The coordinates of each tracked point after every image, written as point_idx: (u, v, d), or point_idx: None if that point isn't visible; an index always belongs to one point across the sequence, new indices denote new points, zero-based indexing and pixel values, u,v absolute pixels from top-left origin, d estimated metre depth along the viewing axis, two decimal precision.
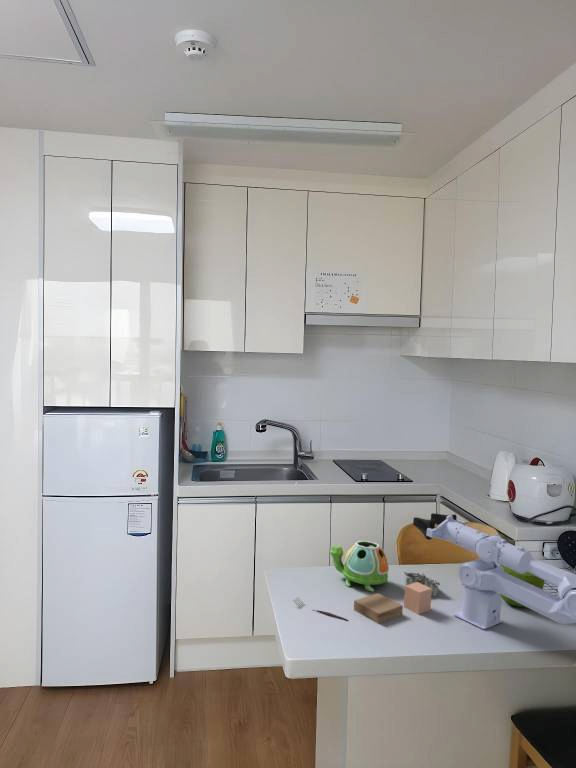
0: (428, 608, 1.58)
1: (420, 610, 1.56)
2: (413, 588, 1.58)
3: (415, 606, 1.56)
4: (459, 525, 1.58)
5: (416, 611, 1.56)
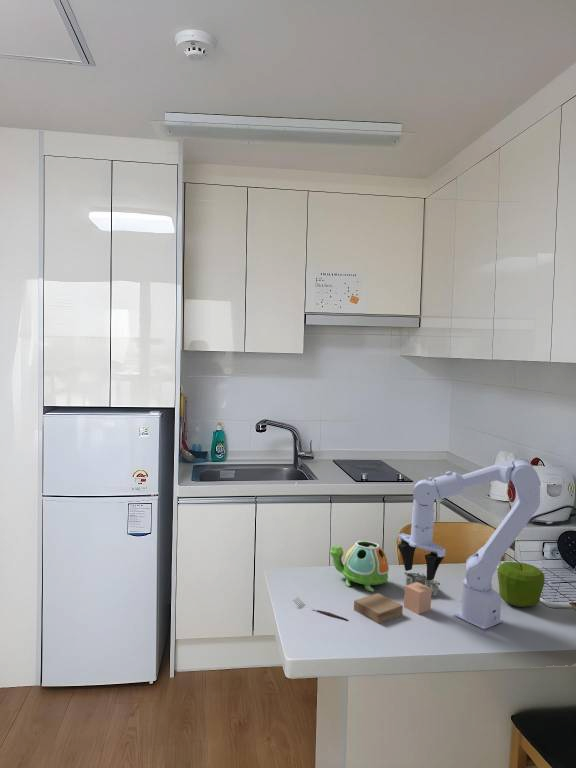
0: (428, 608, 1.58)
1: (420, 610, 1.56)
2: (413, 588, 1.58)
3: (415, 606, 1.56)
4: (417, 530, 1.55)
5: (416, 611, 1.56)
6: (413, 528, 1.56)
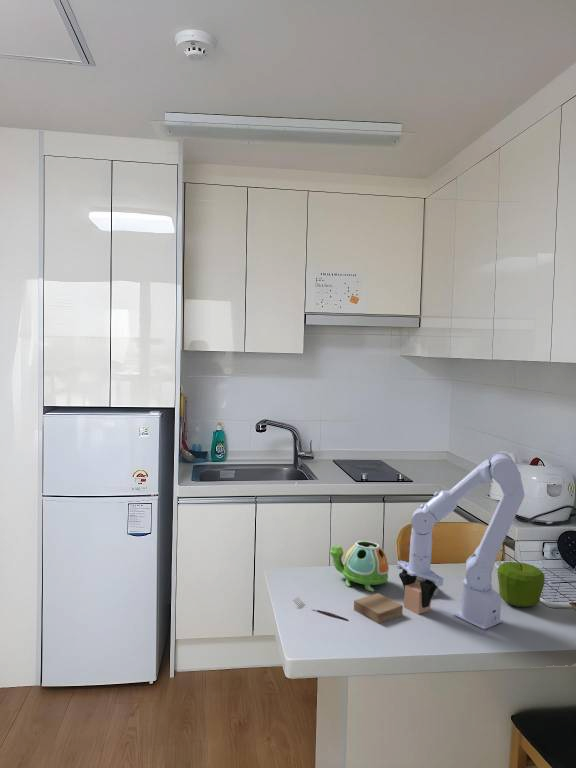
0: (428, 608, 1.58)
1: (420, 610, 1.56)
2: (413, 588, 1.58)
3: (415, 605, 1.56)
4: (415, 559, 1.56)
5: (416, 611, 1.56)
6: (411, 557, 1.57)
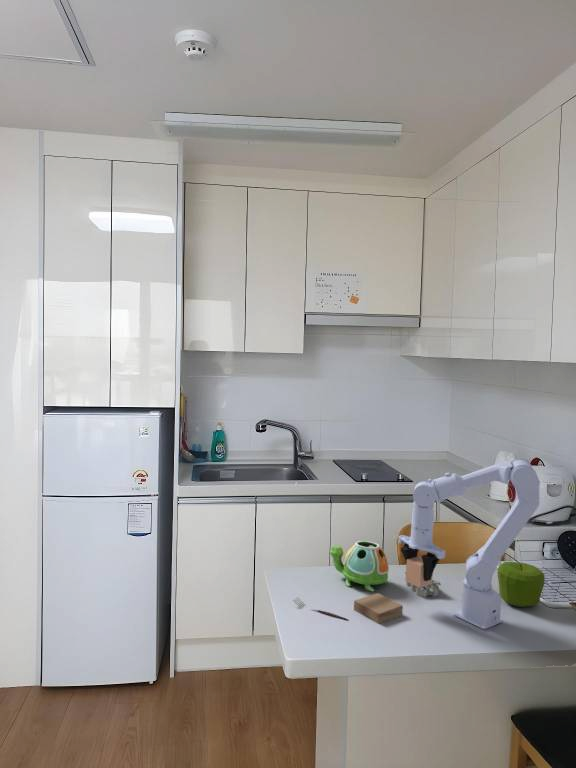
0: (430, 582, 1.57)
1: (422, 583, 1.55)
2: (415, 561, 1.57)
3: (416, 579, 1.56)
4: (417, 532, 1.55)
5: (418, 584, 1.55)
6: (413, 530, 1.56)
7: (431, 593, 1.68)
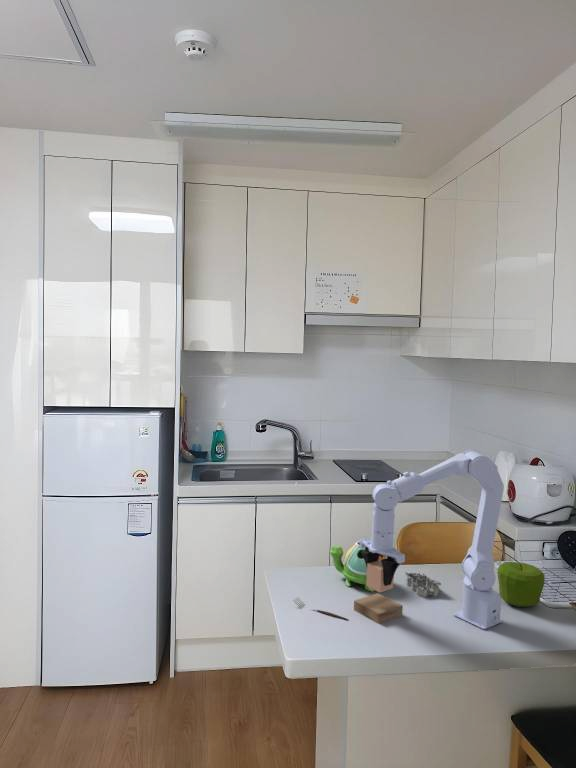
0: (391, 586, 1.54)
1: (382, 588, 1.52)
2: (375, 565, 1.54)
3: (376, 583, 1.52)
4: (377, 535, 1.52)
5: (378, 589, 1.52)
6: (373, 533, 1.53)
7: (431, 593, 1.68)
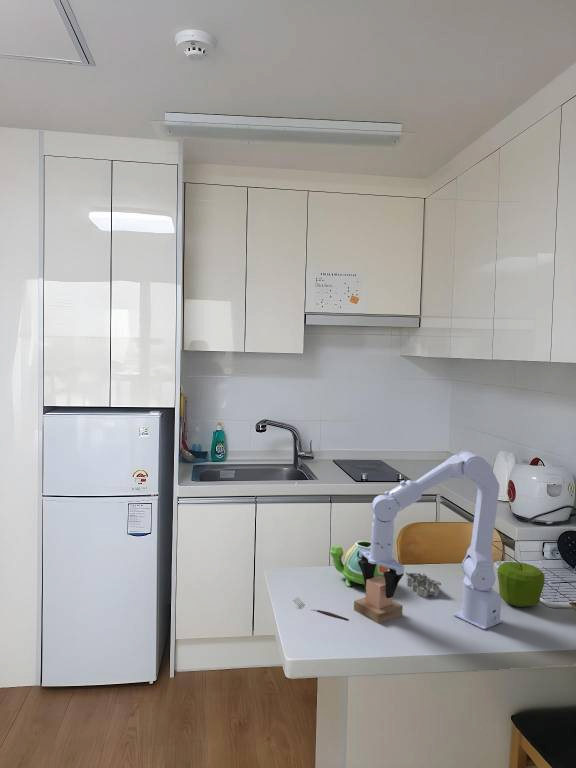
0: (390, 603, 1.54)
1: (381, 604, 1.52)
2: (374, 582, 1.54)
3: (375, 600, 1.53)
4: (376, 547, 1.52)
5: (377, 605, 1.52)
6: (372, 544, 1.53)
7: (432, 593, 1.68)
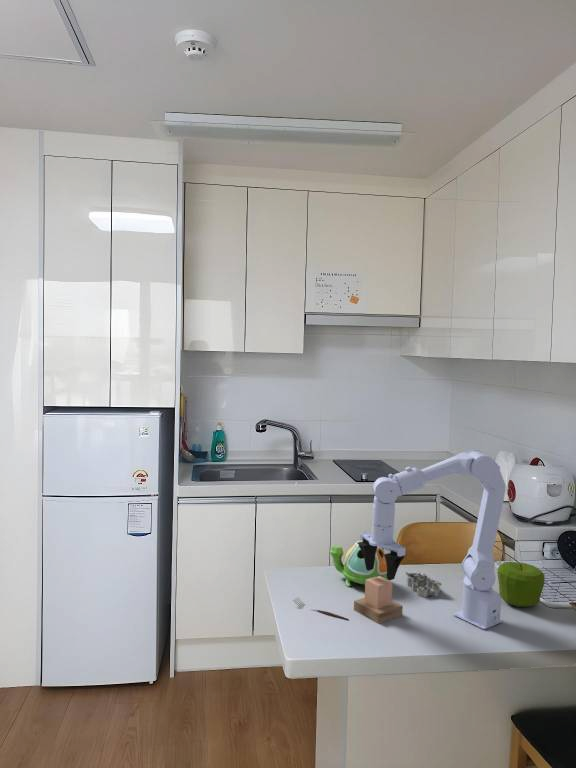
0: (389, 603, 1.54)
1: (380, 604, 1.52)
2: (373, 582, 1.54)
3: (374, 600, 1.53)
4: (377, 529, 1.52)
5: (375, 605, 1.52)
6: (373, 527, 1.53)
7: (432, 593, 1.68)
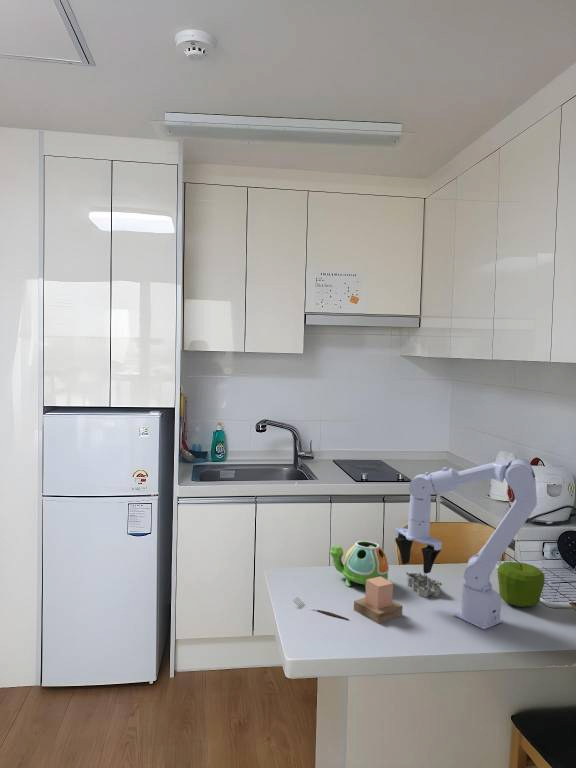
0: (390, 604, 1.54)
1: (380, 605, 1.52)
2: (374, 582, 1.54)
3: (374, 600, 1.53)
4: (414, 524, 1.57)
5: (375, 605, 1.52)
6: (410, 522, 1.58)
7: (432, 593, 1.68)
